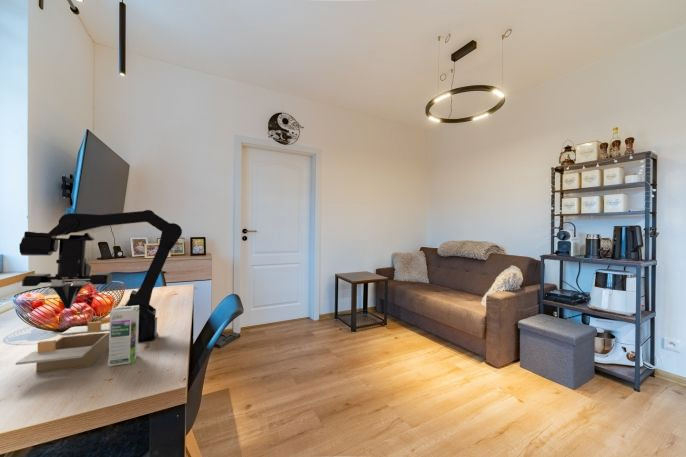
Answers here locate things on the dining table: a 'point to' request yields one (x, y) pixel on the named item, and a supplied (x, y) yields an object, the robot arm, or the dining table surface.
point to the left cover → (53, 353)
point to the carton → (89, 359)
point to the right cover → (88, 328)
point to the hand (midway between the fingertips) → (68, 308)
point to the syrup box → (123, 335)
